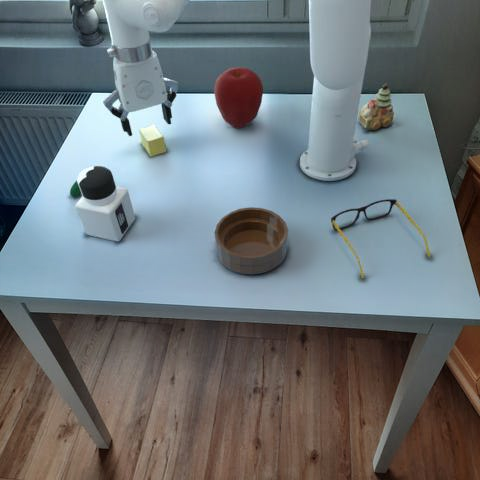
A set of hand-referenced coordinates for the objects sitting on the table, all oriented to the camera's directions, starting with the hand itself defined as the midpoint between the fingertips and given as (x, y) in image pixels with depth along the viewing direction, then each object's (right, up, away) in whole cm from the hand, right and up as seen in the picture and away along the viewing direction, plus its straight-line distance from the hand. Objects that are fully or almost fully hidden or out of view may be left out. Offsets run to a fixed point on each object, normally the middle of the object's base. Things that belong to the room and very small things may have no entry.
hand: (148, 127), depth 110 cm
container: (-5, -26, -12) cm, 29 cm away
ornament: (+55, +3, +7) cm, 55 cm away
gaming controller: (-11, -17, -6) cm, 21 cm away
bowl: (+24, -31, -18) cm, 43 cm away
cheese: (+1, -3, +4) cm, 5 cm away
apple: (+21, +5, +10) cm, 24 cm away
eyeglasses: (+48, -30, -18) cm, 60 cm away
